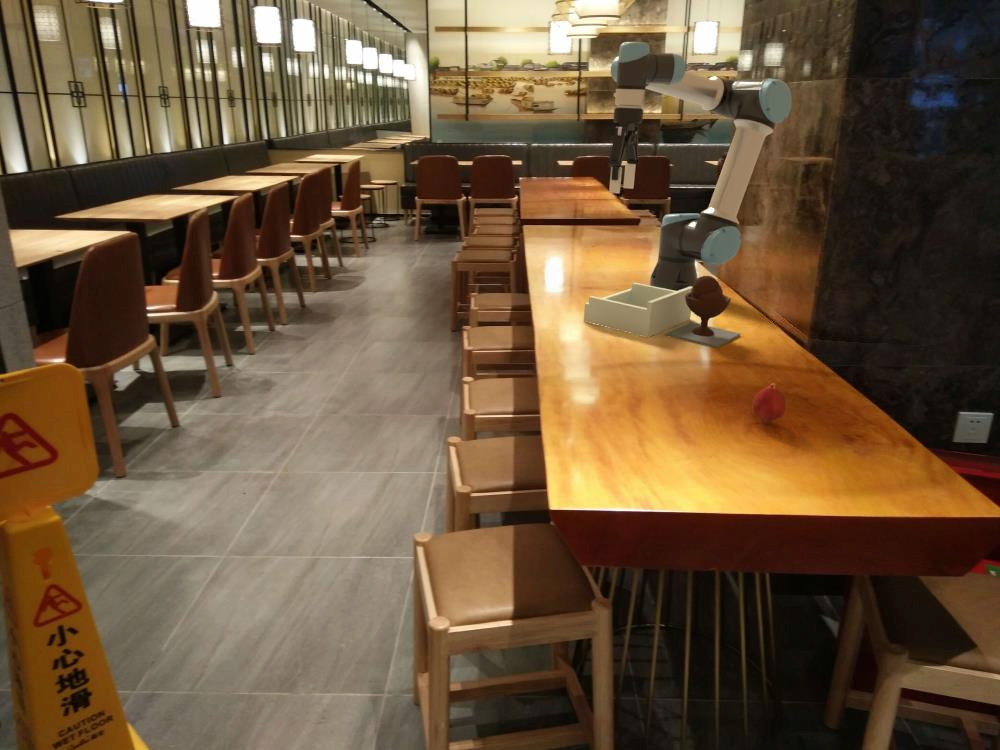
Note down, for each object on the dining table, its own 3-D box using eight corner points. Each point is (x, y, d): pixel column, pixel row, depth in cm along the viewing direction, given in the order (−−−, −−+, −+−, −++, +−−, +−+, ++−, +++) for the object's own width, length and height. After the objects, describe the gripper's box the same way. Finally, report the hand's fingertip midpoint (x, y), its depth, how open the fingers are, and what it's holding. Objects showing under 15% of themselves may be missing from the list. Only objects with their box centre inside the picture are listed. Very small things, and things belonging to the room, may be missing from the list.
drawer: (628, 305, 215) (631, 274, 212) (690, 319, 203) (694, 287, 200) (583, 321, 198) (586, 288, 195) (648, 337, 186) (651, 302, 183)
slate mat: (690, 324, 199) (690, 322, 198) (740, 335, 190) (740, 333, 190) (665, 335, 188) (665, 333, 188) (717, 347, 180) (717, 345, 180)
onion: (744, 416, 141) (751, 377, 138) (774, 416, 142) (781, 377, 139) (757, 429, 136) (764, 388, 133) (787, 429, 136) (795, 388, 133)
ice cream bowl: (727, 341, 184) (736, 281, 178) (681, 337, 186) (688, 278, 180) (723, 329, 193) (732, 272, 188) (680, 325, 195) (687, 269, 190)
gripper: (627, 106, 205) (620, 185, 213) (600, 106, 184) (594, 193, 191) (654, 107, 202) (646, 187, 210) (630, 107, 181) (622, 196, 188)
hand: (621, 190), depth 201 cm, fingers open, 13 cm apart
